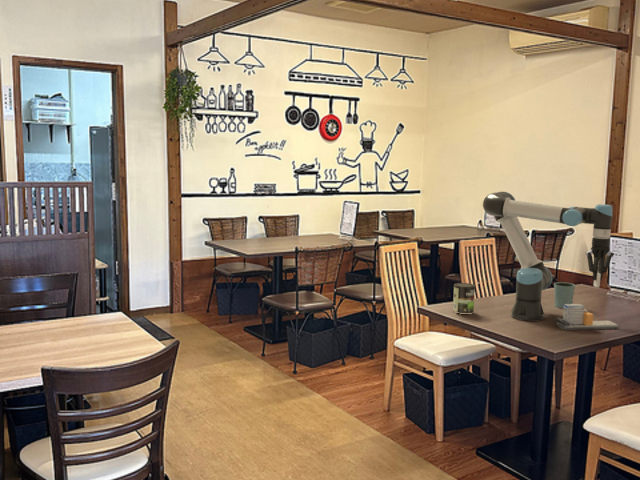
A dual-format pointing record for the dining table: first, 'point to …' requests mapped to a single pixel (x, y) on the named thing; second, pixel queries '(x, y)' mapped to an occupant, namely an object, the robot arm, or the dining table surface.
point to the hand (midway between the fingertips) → (596, 286)
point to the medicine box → (573, 313)
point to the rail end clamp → (587, 318)
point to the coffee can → (464, 297)
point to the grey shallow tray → (596, 325)
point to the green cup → (563, 293)
